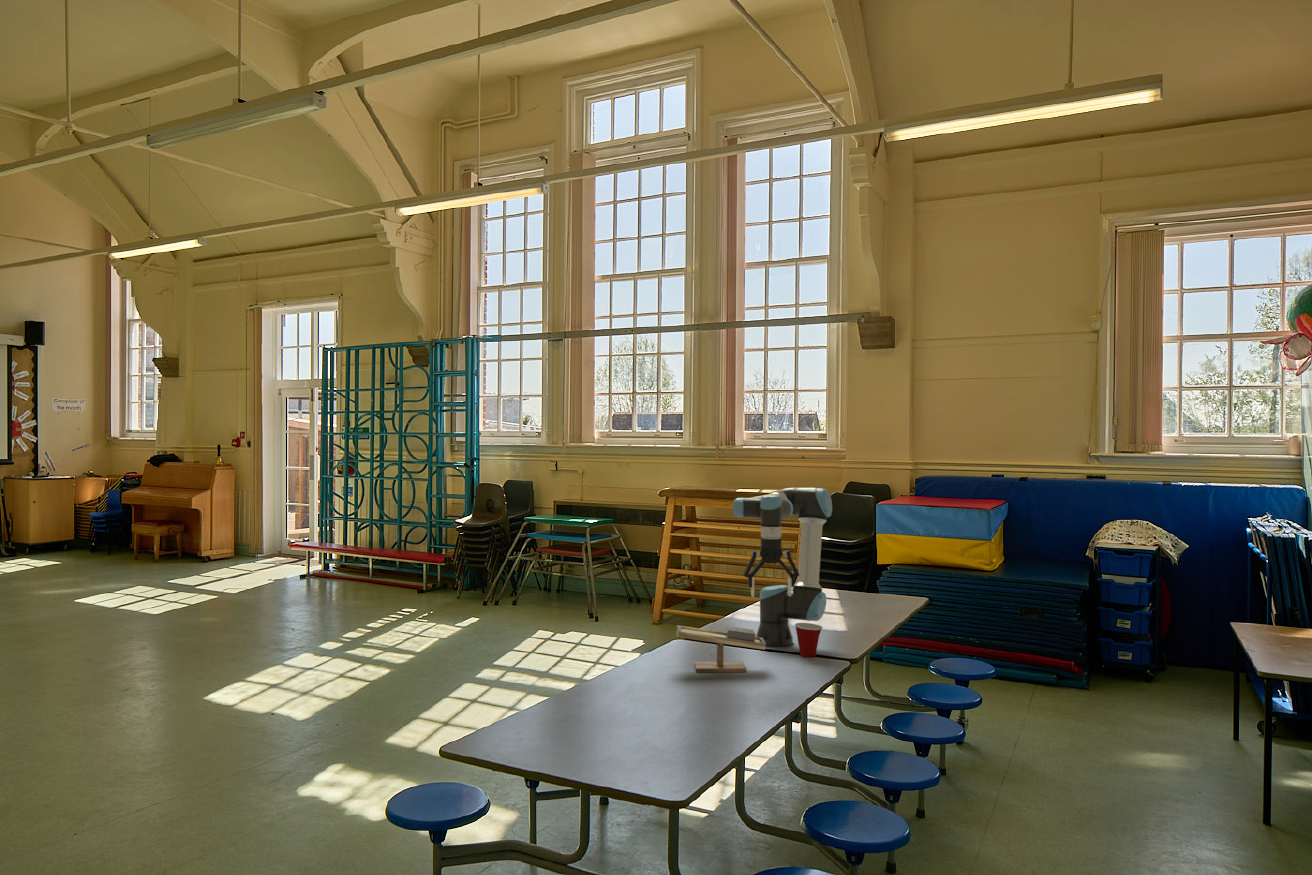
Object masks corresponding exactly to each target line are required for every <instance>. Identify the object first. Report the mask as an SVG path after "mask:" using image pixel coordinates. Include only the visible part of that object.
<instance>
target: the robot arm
mask: <svg viewBox="0 0 1312 875" xmlns="http://www.w3.org/2000/svg"><path fill="white" fill-rule="evenodd" d="M832 502H833V501H832V497H831V494H830V492H829V491H828V490H827V489H826V488H822V487H796V486H795V487H794V486H793V487H786V488H785V487H784V488H781V489H777V490H772V491H770V492H769V494H764V495H758V496H753V497H737V498H735V499H734V500H733V502H732V503H733V504H732V512H733V515H734V516H735V517H736V518H743V519H744V518H745V519H760V537H761V538H760V551H756V550H752V551H751V557H750V559H749V561H748V564H747V565H746V568H745V570H744V572H743V573H742V574H743V576H744V577H745V578H747V579H748V580H747V582H748V583H747V585H748V587H749V588H750V593H751V594H750V595H751V597H752V598H754V597H755V578H754V576H755V575H756V574H757V573H758V571H760V569H761V568H762V567H763V566H764V565H765V564H768V565H769V564H773V565H774V564H779V566H780V567H781V568H782V569H783V570H784V571H785V572H786V574H787V575H789V576H788V577H787V585H785V584H779V585H769V586H764V587H762V588H761V590H760V593H759V625H758V629H757V631H756V634H755V637H761V638H763V639H764V641H765V642H766V646H765V647H787V646H786V645H788V646H791V645H793V643H794V641H793V640H794V638H793V634H792V631H791V628H790V625H789V619H790V620H799V621H807V622H817V621H820V620H821V619H822V617H823V616H824V614H825V610H826V606H827V595H826V593H825V592H823V587H822V586H821V585H820V568H821V553H822V552H821V551H822V537H823V526H824V524H826V522H827V520H828V518H830V517H831V516H832V512H833V503H832ZM791 516H797V517H798V518H797V520H798V521H799V522H800V523H801V525H800V526H801V527H800V540H799V541H800V543H799V551H798V552H799V555H798V556H799V557H798V568H797V567H796V564H795V563H794V561H793V559H792V556H791V551H790V550H786V551H785V550H784V551H782V547H783V546H782V538H781V537H782V520H785V519H788V518H789V517H791ZM759 556H760V557H761V559H759V561H758V563H757V564H756V565H755V566H754V568H753V565H754V563H755V561H756V560H757V558H758V557H759ZM783 556H784V557H785V558H786V560H787V562H788V564H789V566H790V567H791V569H792V571H791V570H790V569H789V568H788V567H787V565H786V564H785V563H784V562H783V561H782V557H783ZM752 568H753V569H752ZM792 572H793V573H792ZM796 577H797V582H796V583H795V578H796ZM790 644H791V645H790Z"/></svg>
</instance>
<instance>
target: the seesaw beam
mask: <svg viewBox="0 0 1312 875" xmlns="http://www.w3.org/2000/svg"><path fill="white" fill-rule="evenodd" d="M675 632H676V637H677V638H681V639H689V640H695V641H703V642H708V643H709V642H710V643H716V644H717V643H719V644H720V646H722V645H723V646H724V645H731V646H737V647H745V648H751V649H757V650H764V651H765V650H766V647H767V646H766V642H765V641H764V639H763V638H761V637H756V636H755V641H754V642H752V641H745V640H739V639H732V638H726V636H725V632H726V631H725V632H724V631H719V630H718V631H717V630H712V629H711V630H710V629H704V628H699V627H698V628H697V627H691V626H684V625H678V624H677V626H676V631H675Z"/></svg>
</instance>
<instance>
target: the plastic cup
mask: <svg viewBox="0 0 1312 875" xmlns="http://www.w3.org/2000/svg"><path fill="white" fill-rule="evenodd" d="M794 627H795V631H796V635H797V636H796V637H797V642H798V648H799V654H800V656H801V657H802V656H803V658H814V656H815V657H816V655H817V649H818V643H819V638H820V635H821V632H822V629H823V628H824V627H823V626H822V625H819V624H815V623H811V622H796V623H794Z"/></svg>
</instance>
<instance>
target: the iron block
mask: <svg viewBox="0 0 1312 875" xmlns="http://www.w3.org/2000/svg"><path fill="white" fill-rule="evenodd" d="M725 636H726V638H732V639H739V640H745V641H752V642H754V641H755V637H756V633H755V630H754V629H751V628H750V629H749V628H743V627H737V626H729V625H726V626H725Z"/></svg>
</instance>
